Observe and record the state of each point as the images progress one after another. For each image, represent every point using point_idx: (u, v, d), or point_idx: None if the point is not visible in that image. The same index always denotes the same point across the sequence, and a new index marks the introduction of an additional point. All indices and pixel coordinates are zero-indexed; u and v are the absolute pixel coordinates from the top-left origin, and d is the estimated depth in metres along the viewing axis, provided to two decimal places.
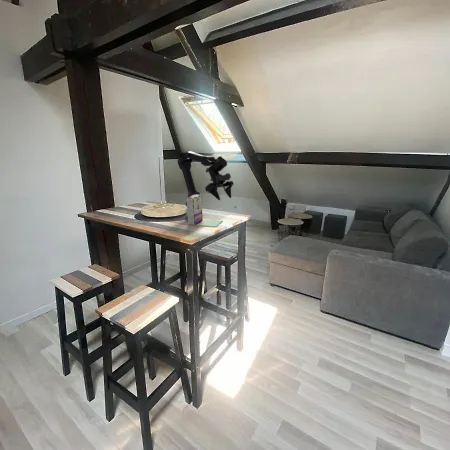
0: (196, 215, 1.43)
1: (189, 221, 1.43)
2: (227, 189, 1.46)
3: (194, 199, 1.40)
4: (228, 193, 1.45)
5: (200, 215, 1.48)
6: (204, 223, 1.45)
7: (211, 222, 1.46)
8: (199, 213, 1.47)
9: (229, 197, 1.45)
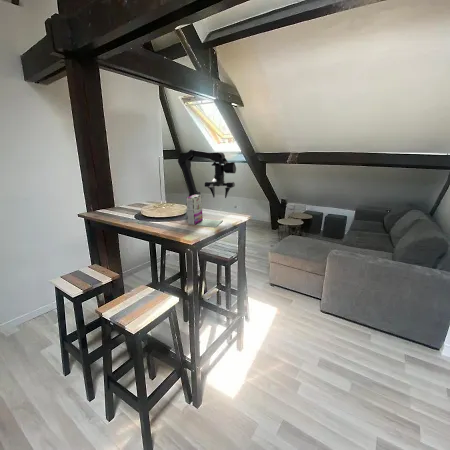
0: (196, 215, 1.43)
1: (189, 221, 1.43)
2: None
3: (194, 199, 1.40)
4: None
5: (200, 215, 1.48)
6: (204, 223, 1.45)
7: (211, 222, 1.46)
8: (199, 213, 1.47)
9: (225, 196, 1.55)
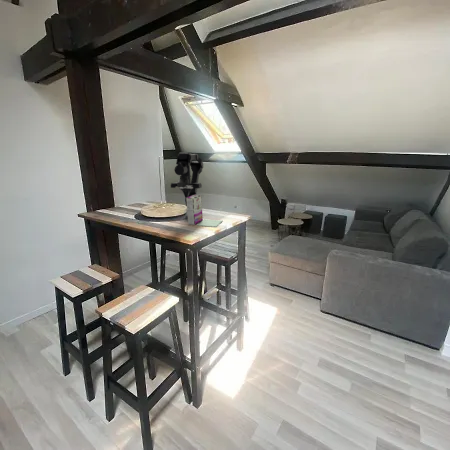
0: (196, 215, 1.43)
1: (189, 221, 1.43)
2: None
3: (194, 199, 1.40)
4: None
5: (200, 215, 1.48)
6: (204, 223, 1.45)
7: (211, 222, 1.46)
8: (199, 213, 1.47)
9: None
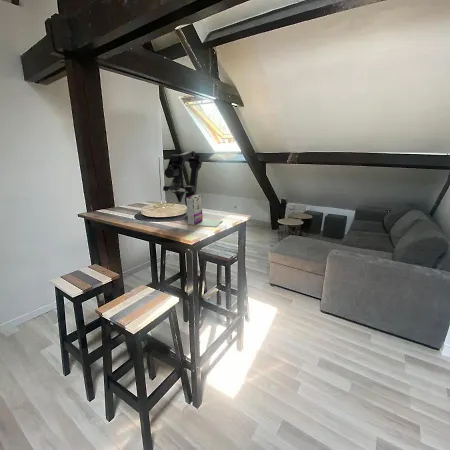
0: (196, 215, 1.43)
1: (189, 221, 1.43)
2: None
3: (194, 199, 1.40)
4: None
5: (200, 215, 1.48)
6: (204, 223, 1.45)
7: (211, 222, 1.46)
8: (199, 213, 1.47)
9: None
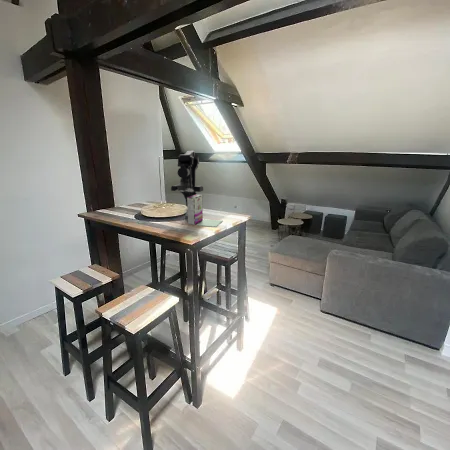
0: (196, 215, 1.43)
1: (189, 221, 1.43)
2: None
3: (195, 199, 1.39)
4: None
5: (200, 215, 1.48)
6: (204, 223, 1.45)
7: (211, 222, 1.46)
8: (200, 213, 1.47)
9: None
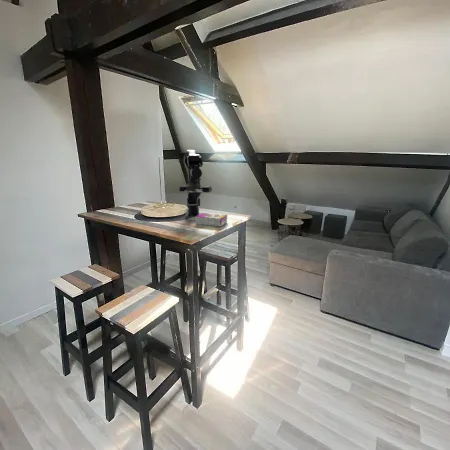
0: None
1: (197, 218, 1.41)
2: None
3: None
4: None
5: None
6: None
7: None
8: None
9: (196, 202, 1.45)
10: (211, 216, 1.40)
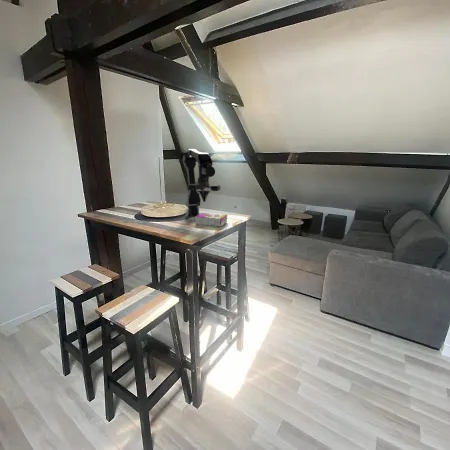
0: None
1: (197, 218, 1.41)
2: None
3: None
4: None
5: None
6: None
7: None
8: None
9: (204, 200, 1.45)
10: (211, 216, 1.40)
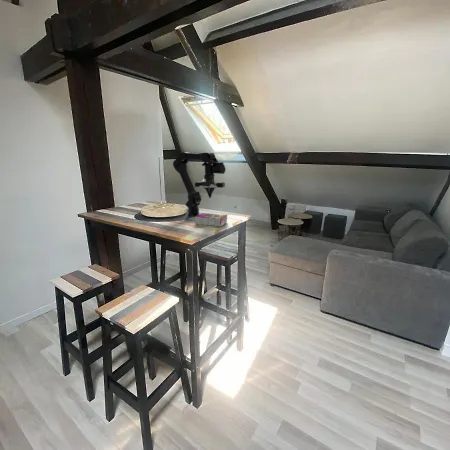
0: None
1: (197, 218, 1.41)
2: None
3: None
4: None
5: None
6: None
7: None
8: None
9: None
10: (211, 216, 1.40)
